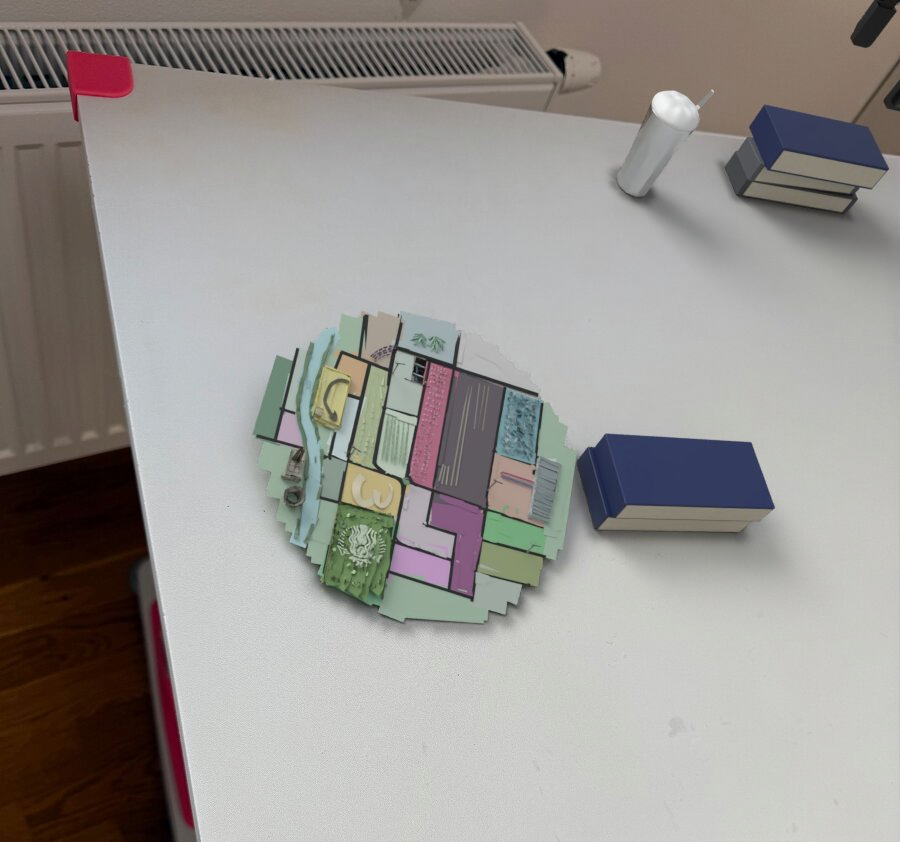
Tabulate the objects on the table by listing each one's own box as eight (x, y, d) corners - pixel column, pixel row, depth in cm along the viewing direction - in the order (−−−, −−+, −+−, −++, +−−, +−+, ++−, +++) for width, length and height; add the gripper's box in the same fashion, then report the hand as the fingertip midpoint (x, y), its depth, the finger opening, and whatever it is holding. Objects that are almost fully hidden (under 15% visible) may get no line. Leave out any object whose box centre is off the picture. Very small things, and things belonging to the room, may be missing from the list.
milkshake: (667, 200, 92) (726, 109, 84) (624, 204, 90) (680, 111, 82) (645, 166, 94) (700, 73, 85) (602, 168, 91) (655, 73, 83)
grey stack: (832, 184, 103) (857, 153, 100) (846, 216, 102) (872, 185, 98) (722, 164, 98) (745, 131, 95) (735, 197, 96) (759, 164, 93)
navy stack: (722, 468, 78) (751, 439, 75) (745, 535, 76) (775, 508, 72) (575, 461, 73) (599, 430, 70) (595, 533, 71) (620, 504, 68)
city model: (257, 656, 60) (278, 626, 55) (204, 329, 66) (218, 274, 61) (597, 620, 70) (642, 591, 65) (523, 340, 77) (559, 293, 71)
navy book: (851, 148, 100) (868, 126, 98) (871, 190, 98) (889, 169, 96) (748, 127, 96) (764, 103, 93) (767, 171, 93) (783, 148, 91)
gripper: (1094, -44, 73) (934, 136, 87) (1017, -154, 79) (878, 31, 93) (1024, -68, 70) (870, 122, 84) (949, -180, 76) (816, 15, 90)
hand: (874, 74), depth 88 cm, fingers open, 8 cm apart
